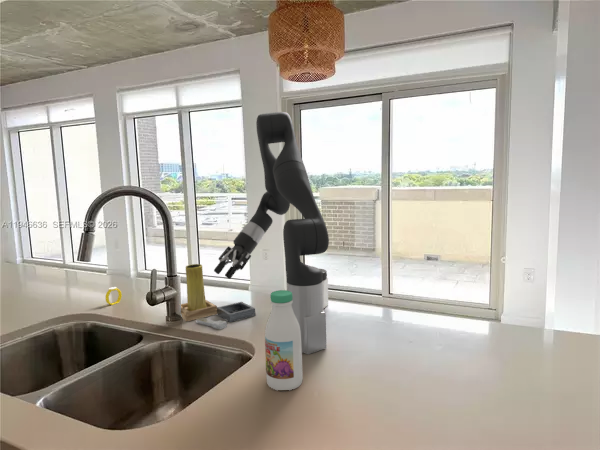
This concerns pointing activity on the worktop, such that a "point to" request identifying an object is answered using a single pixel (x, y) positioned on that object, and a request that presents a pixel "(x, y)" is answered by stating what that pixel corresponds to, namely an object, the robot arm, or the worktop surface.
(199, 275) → the vase
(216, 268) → the robot arm
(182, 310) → the wooden tray
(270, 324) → the milk bottle
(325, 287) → the jar
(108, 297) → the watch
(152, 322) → the worktop surface
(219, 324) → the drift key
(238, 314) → the grey square shallow tray
